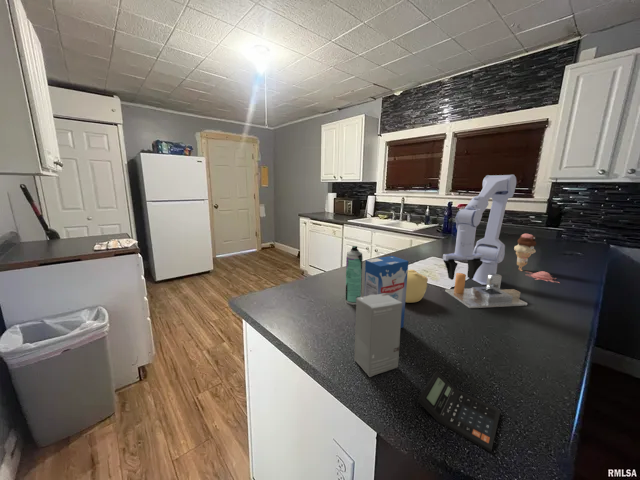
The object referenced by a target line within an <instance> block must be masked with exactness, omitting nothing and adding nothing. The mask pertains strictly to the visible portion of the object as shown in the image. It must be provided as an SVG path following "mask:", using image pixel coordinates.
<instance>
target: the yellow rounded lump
mask: <svg viewBox="0 0 640 480" xmlns="http://www.w3.org/2000/svg"><path fill="white" fill-rule="evenodd" d="M428 280H429V279H428V277H427V276H425V275H423V274H421V273H419V272H417V270H415V269H408V274H407V287H406V300H405V303H408V304H409V303H417V302H419V301H421V300H422V299H423V298H424V296H425V293H426V291H427V288H428Z"/></svg>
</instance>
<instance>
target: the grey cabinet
mask: <svg viewBox="0 0 640 480" xmlns="http://www.w3.org/2000/svg"><path fill="white" fill-rule="evenodd" d="M401 313H402V302H400V301H398V300H396V299H394V298H392V297H391V296H389V295H387V294H385V293H384V294H378V295H368V296H364V295H363V296H361V297H358V298H356V305H355V326H354V327H355V329H354V330H355V331H354V334H355V335H354V361H355V362H356V363H357V365H359V367H360V368H361V369H362V370H363V371H364V372H365V374H366V376H368V377H369V378H371V377H373V376H376V375H378V374H382V373H385V372H389V371H391V370H394V369H397V368H398V367H399V360H400V358H399V357H400V356H399V355H400V341H401Z"/></svg>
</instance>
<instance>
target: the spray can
mask: <svg viewBox="0 0 640 480" xmlns="http://www.w3.org/2000/svg"><path fill="white" fill-rule="evenodd" d="M345 257H346V260H345V262H346V264H345V266H346V267H345V303H346V304H348V305H352V306H353V305H355V306H356V298H358V297H362V286H363V285H362V284H363V283H362V281H363V257H364V256H363V253H362V252H361V251H359V249H358V246H357V245H352V246H351V249H350V250H349V251H347V252H346V256H345Z"/></svg>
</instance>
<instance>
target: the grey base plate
mask: <svg viewBox="0 0 640 480" xmlns="http://www.w3.org/2000/svg"><path fill="white" fill-rule="evenodd" d="M502 277H503V276H502V274H498V273H496V274H494V273H489V274H488V276H487V283H486V285H485V287H491V286H494V287H496V288H498V289H500V290H501V283H502ZM471 291H472V287H471V288H465V287H464V293H463V294H458V293H455V292H454V288H446V289H445V292H446V293H447V294H448V295H450V296H451V297H452V298H454V299H456V300H457V301H459V302H460V303H462V304H463V305H464V306H466V307H467V308H469V309H479V308H480V309H481V308H483V309H485V308H499V307H502V308H503V307H519V306H520V307H521V306H527V305H528V302H526V301H524V300H522V299H520V298H519V299H512V303H501V304H487V303H486V302H484V301H482V300H481V299H479V298H478V297H476V296H474V295H473V294H471Z"/></svg>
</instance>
